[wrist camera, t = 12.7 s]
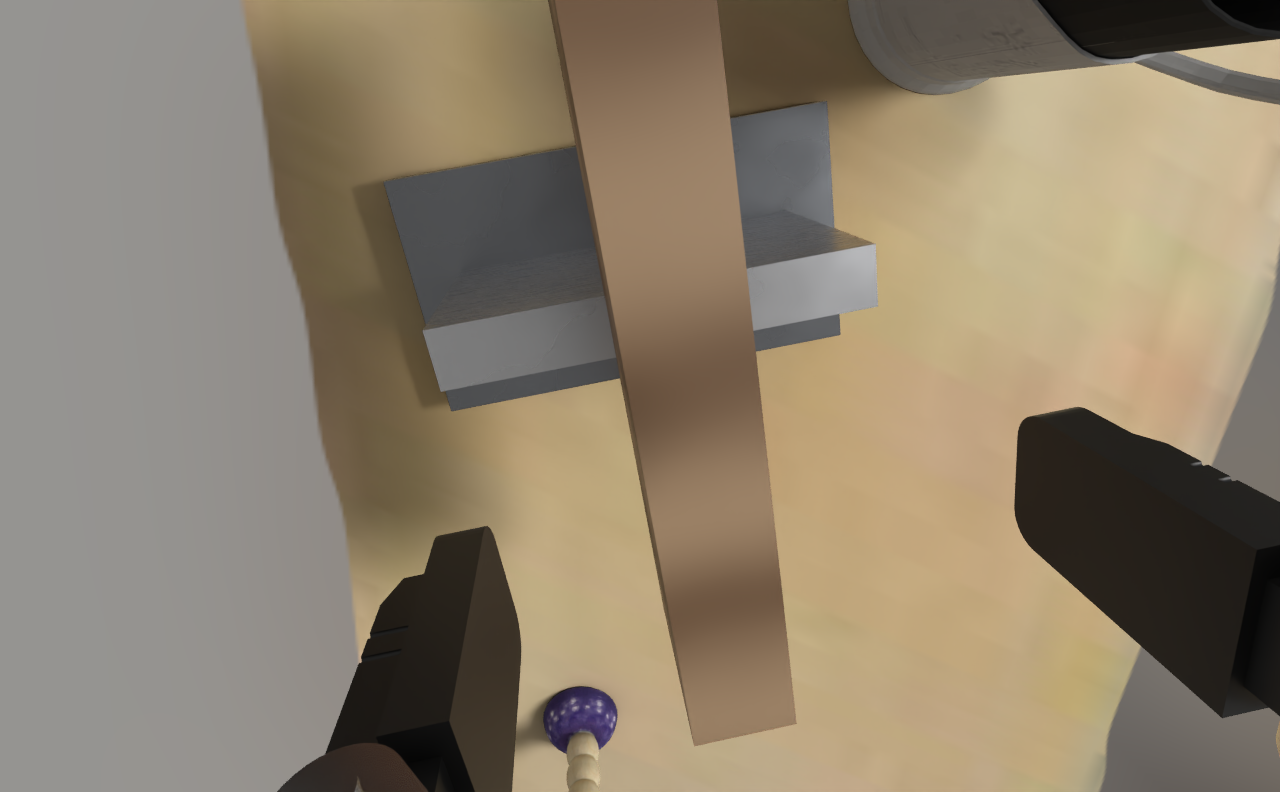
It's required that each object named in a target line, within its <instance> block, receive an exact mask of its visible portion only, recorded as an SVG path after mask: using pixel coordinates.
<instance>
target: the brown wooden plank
mask: <svg viewBox="0 0 1280 792" xmlns="http://www.w3.org/2000/svg"><path fill="white" fill-rule="evenodd" d="M548 2H549V7H550V12H551V17H552V23H553V28H554V33H555V38H556V44H557V49H558V54H559V59H560V65H561V70H562V75H563V80H564V86H565V91H566V96H567V101H568V107H569V112H570V117H571V122H572V128H573V133H574V138H575V143H576V149H577V154H578V159H579V165H580V170H581V175H582V180H583V186H584V191H585V196H586V201H587V207H588V212H589V217H590V222H591V228H592V233H593V238H594V243H595V249H596V254H597V259H598V264H599V270H600V275H601V280H602V285H603V291H604V296H605V301H606V306H607V312H608V317H609V322H610V327H611V333H612V338H613V343H614V349H615V354H616V359H617V364H618V370H619V375H620V380H621V385H622V391H623V396H624V401H625V406H626V412H627V417H628V422H629V427H630V433H631V438H632V443H633V448H634V454H635V459H636V464H637V469H638V475H639V480H640V485H641V490H642V496H643V501H644V506H645V512H646V517H647V522H648V527H649V533H650V538H651V543H652V548H653V554H654V559H655V564H656V569H657V575H658V580H659V585H660V590H661V596H662V601H663V606H664V611H665V616H666V620H667V625H668V629H669V634H670V638H671V643H672V648H673V652H674V657H675V661H676V666H677V670H678V675H679V679H680V684H681V688H682V693H683V697H684V702H685V706H686V711H687V715H688V720H689V725H690V729H691V734H692V738H693V743H694V746H698V745H702V744H707V743H711V742H716V741H721V740H725V739H730V738H734V737H739V736H743V735H748V734H752V733H757V732H762V731H766V730H771V729H775V728H780V727H784V726H789V725H793V724H797V723H796V714H795V705H794V696H793V687H792V678H791V669H790V660H789V651H788V641H787V632H786V623H785V614H784V605H783V596H782V587H781V578H780V569H779V560H778V550H777V541H776V532H775V523H774V514H773V505H772V496H771V487H770V478H769V468H768V459H767V450H766V441H765V432H764V423H763V414H762V405H761V396H760V387H759V377H758V368H757V359H756V350H755V341H754V332H753V323H752V314H751V305H750V296H749V286H748V277H747V268H746V259H745V250H744V241H743V232H742V223H741V214H740V205H739V195H738V186H737V177H736V168H735V159H734V150H733V141H732V132H731V123H730V113H729V104H728V95H727V86H726V77H725V68H724V59H723V50H722V41H721V32H720V22H719V13H718V4H717V0H548Z"/></svg>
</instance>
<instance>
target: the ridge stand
mask: <svg viewBox="0 0 1280 792" xmlns="http://www.w3.org/2000/svg"><path fill="white" fill-rule="evenodd" d="M730 123H731V132H732V141H733V150H734V159H735V168H736V177H737V186H738V195H739V205H740V214H741V223H742V232H743V241H744V250H745V259H746V268H747V277H748V286H749V296H750V305H751V314H752V323H753V332H754V341H755V350H756V351H761V350H766V349H771V348H776V347H781V346H786V345H791V344H796V343H801V342H807V341H812V340H817V339H822V338H827V337H832V336H837V335H840V318H839V314H842V313H847V312H852V311H857V310H862V309H867V308H872V307H878V298H877V269H876V244H875V243H872V242H869V241H867V240H864V239H861V238H859V237H856V236H853V235H851V234H848V233H846V232H843V231H840V230H838V229H835V228H834V213H833V196H832V179H831V161H830V144H829V126H828V109H827V101H822V102H813V103H808V104H802V105H797V106H791V107H786V108H780V109H775V110H769V111H764V112H758V113H753V114H747V115H742V116H736V117H731V118H730ZM384 186H385V189H386V192H387V196H388V199H389V202H390V206H391V209H392V213H393V216H394V219H395V223H396V226H397V229H398V233H399V236H400V240H401V243H402V246H403V250H404V253H405V256H406V260H407V263H408V266H409V270H410V273H411V277H412V280H413V283H414V287H415V290H416V293H417V297H418V300H419V304H420V307H421V310H422V314H423V317H424V320H425V324H426V326H425V328H424V329H423V334H424V337H425V341H426V344H427V347H428V351H429V354H430V357H431V361H432V364H433V367H434V371H435V374H436V377H437V381H438V384H439V387H440V391H441V392H442V391H446V394H447V398H448V401H449V405H450V408H451V411H456V410H461V409H466V408H471V407H476V406H481V405H486V404H491V403H496V402H501V401H506V400H512V399H517V398H522V397H527V396H532V395H537V394H542V393H547V392H552V391H557V390H562V389H567V388H573V387H578V386H583V385H588V384H593V383H598V382H603V381H608V380H613V379H618V378H620V375H619V370H618V364H617V359H616V354H615V349H614V343H613V338H612V333H611V327H610V322H609V317H608V312H607V306H606V301H605V296H604V291H603V285H602V280H601V275H600V270H599V264H598V259H597V254H596V249H595V243H594V238H593V233H592V228H591V222H590V217H589V212H588V207H587V201H586V196H585V191H584V186H583V180H582V175H581V170H580V165H579V159H578V154H577V149H576V146H572V147H566V148H561V149H555V150H550V151H544V152H539V153H533V154H528V155H522V156H517V157H511V158H506V159H500V160H495V161H489V162H484V163H478V164H473V165H467V166H462V167H456V168H451V169H445V170H440V171H434V172H429V173H423V174H418V175H412V176H407V177H401V178H396V179H390V180H387V181H384Z"/></svg>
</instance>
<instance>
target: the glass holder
mask: <svg viewBox="0 0 1280 792" xmlns="http://www.w3.org/2000/svg"><path fill="white" fill-rule="evenodd" d="M848 5H849V13H850V18H851V22H852V25H853V29H854V32H855V36H856V38H857V40H858V42H859V44H860V46H861V48H862V50H863V52H864V54H865V55H866V56H867V58H868V59H869V60H870V62H871V63H872V64H873V66H874V67H875V68H876V69H877V70H878V71H879V72H880V73H881V74H883V75H884V76H885V77H886V78H887V79H888V80H890V81H892V82H893V83H895V84H897V85H898V86H900V87H902V88H905V89H908V90H911V91H914V92H917V93H923V94H932V95H938V94H950V93H955V92H958V91H962V90H965V89H969V88H971V87H973V86H975V85H978V84H980V83H982V82H984V81H986V80H988V79H989V78H991V77H1001V76H1010V75H1020V74H1029V73H1039V72H1048V71H1058V70H1067V69H1077V68H1087V67H1096V66H1106V65H1115V64H1125V63H1132V62H1135V63H1137V64H1140V65H1142V66H1145V67H1147V68H1150V69H1153V70H1156V71H1159V72H1161V73H1164V74H1167V75H1170V76H1173V77H1175V78H1178V79H1181V80H1184V81H1186V82H1189V83H1192V84H1195V85H1198V86H1201V87H1204V88H1207V89H1210V90H1213V91H1216V92H1219V93H1224V94H1228V95H1233V96H1238V97H1242V98H1247V99H1251V100H1256V101H1262V102H1267V103H1273V104H1279V105H1280V80H1278V79H1272V78H1266V77H1261V76H1256V75H1251V74H1247V73H1242V72H1237V71H1233V70H1229V69H1225V68H1222V67H1219V66H1215V65H1212V64H1209V63H1205V62H1202V61H1199V60H1196V59H1193V58H1190V57H1187V56H1184V55H1181V54H1178V53H1176V52H1173V51H1180V50H1189V49H1198V48H1206V47H1215V46H1223V45H1232V44H1241V43H1249V42H1258V41H1266V40H1275V39H1280V0H848Z"/></svg>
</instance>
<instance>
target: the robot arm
mask: <svg viewBox="0 0 1280 792" xmlns="http://www.w3.org/2000/svg"><path fill="white" fill-rule="evenodd" d="M1014 506H1015V517H1016V521H1017V524H1018V527H1019V529H1020V532H1021V534H1022V536H1023V538H1024V539H1025V541H1026V542H1027V543H1028V545H1029V546H1030V547H1031V548H1032V549H1033V550H1034V551H1035V552H1036V553H1037V554H1038V555H1040V556H1041V557H1042V558H1043V559H1044V560H1045V561H1046V562H1047V563H1049V564H1050V565H1051V566H1052V567H1053V568H1054V569H1055V570H1056V571H1058V572H1059V573H1060V574H1061V575H1062V576H1063V577H1064V578H1065V579H1067V580H1068V581H1069V582H1070V583H1071V584H1072V585H1073V586H1074V587H1075V588H1077V589H1078V590H1079V591H1080V592H1081V593H1082V594H1083V595H1084V596H1086V597H1087V598H1088V599H1089V600H1090V601H1091V602H1092V603H1093V604H1095V605H1096V606H1097V607H1098V608H1099V609H1100V610H1101V611H1102V612H1104V613H1105V614H1106V615H1107V616H1108V617H1109V618H1110V619H1111V620H1113V621H1114V622H1115V623H1116V624H1117V625H1118V626H1119V627H1120V628H1122V629H1123V630H1124V631H1125V632H1126V633H1127V634H1128V635H1129V636H1130V637H1132V638H1133V639H1134V640H1135V641H1136V642H1137V643H1138V644H1139V645H1141V646H1142V647H1143V648H1144V649H1145V650H1146V651H1147V652H1149V653H1150V654H1151V655H1152V656H1153V657H1154V658H1155V659H1156V660H1157V661H1159V662H1160V663H1161V664H1162V665H1163V666H1164V667H1165V668H1167V669H1168V670H1169V671H1170V672H1171V673H1172V674H1173V675H1174V676H1175V677H1177V678H1178V679H1179V680H1180V681H1181V682H1182V683H1183V684H1185V685H1186V686H1187V687H1188V688H1189V689H1190V690H1191V691H1192V692H1193V693H1194V694H1196V695H1197V696H1198V697H1199V698H1200V699H1201V700H1202V701H1203V702H1205V703H1206V704H1207V705H1208V706H1209V707H1210V708H1212V709H1213V710H1214V711H1215V712H1216V713H1217V714H1218V715H1219V716H1220V717H1222V718H1224V717H1229V716H1233V715H1238V714H1242V713H1247V712H1251V711H1255V710H1260V709H1264V708H1270V709H1272V710H1273V711H1274V712H1275V713H1277V714H1278V715H1279V716H1280V502H1278V501H1277V500H1274V499H1273V498H1271V497H1269V496H1267V495H1265V494H1263V493H1261V492H1259V491H1257V490H1255V489H1253V488H1252V487H1250V486H1248V485H1246V484H1244V483H1242V482H1240V481H1238V480H1236V481H1232V480H1231V479H1230V476H1229V475H1227V474H1225V473H1223V472H1221V471H1219V470H1217V469H1215V468H1213V467H1211V466H1209V465H1205V466H1203V465H1202V463H1201V461H1200V460H1198V459H1196V458H1194V457H1192V456H1190V455H1188V454H1186V453H1184V452H1182V451H1181V450H1179V449H1177V448H1175V447H1173V446H1171V445H1169V444H1167V443H1164V442H1160V441H1157V440H1153V439H1150V438H1146V437H1143V436H1139V435H1136V434H1133V433H1131V432H1129V431H1127V430H1125V429H1123V428H1121V427H1119V426H1117V425H1116V424H1114V423H1112V422H1110V421H1108V420H1106V419H1104V418H1102V417H1101V416H1099V415H1097V414H1095V413H1093V412H1091V411H1089V410H1087V409H1085V408H1082V407H1074V408H1069V409H1064V410H1059V411H1054V412H1050V413H1045V414H1040V415H1035V416H1030V417H1027V418H1025V419H1024V420H1023V421H1022V423H1021V424H1020V427H1019V430H1018V440H1017V461H1016V483H1015V505H1014ZM370 636H371V638H370V639H368V640H367V643H366V645H365V648H364V651H363V653H362V656H361V659H362V663H359V664H358V667H357V670H356V672H355V676H354V678H353V680H352V683H351V686H350V689H349V691H348V694H347V697H346V699H345V702H344V705H343V708H342V710H341V713H340V716H339V719H338V721H337V724H336V727H335V729H334V732H333V735H332V737H331V740H330V743H329V745H328V748H327V751H326V753H325V755H323V756H321V757H319V758H317V759H316V760H314V761H312V762H311V763H309V764H308V765H306V766H305V767H304V768H302V769H301V770H300V771H298V772H297V773H296V774H294V775H293V776H292V777H291V778H290V779H289V780H288V781H287V782H286V783H285V784H284V785H283V786H282V787H281V788H280V789H279V790H278V791H277V792H512V781H513V767H514V752H515V738H516V723H517V709H518V694H519V679H520V665H521V638H520V630H519V623H518V618H517V614H516V610H515V606H514V603H513V599H512V596H511V593H510V589H509V586H508V582H507V579H506V575H505V572H504V569H503V565H502V562H501V558H500V555H499V552H498V548H497V545H496V541H495V538H494V535H493V533H492V531H491V529H490V528H489V527H488V526H484V527H480V528H475V529H470V530H465V531H460V532H455V533H450V534H445V535H440V536H437V537H436V538H435V540H434V542H433V546H432V549H431V553H430V556H429V559H428V563H427V566H426V569H425V573H424V574H422V575H417V576H413V577H408V578H404V579H403V580H402V581H401V582H400V583H399V584H398V586H397V587H396V588H395V589H394V590H393V591H392V592H391V594H390V595H389V596H388V597H387V598H386V599H385V600H384V602H383V603H382V604H381V605H380V607H379V610H378V613H377V616H376V618H375V621H374V624H373V626H372V629H371V632H370ZM1276 743H1277V748H1278V752H1279V756H1280V722H1279V726H1278V730H1277V735H1276Z"/></svg>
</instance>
